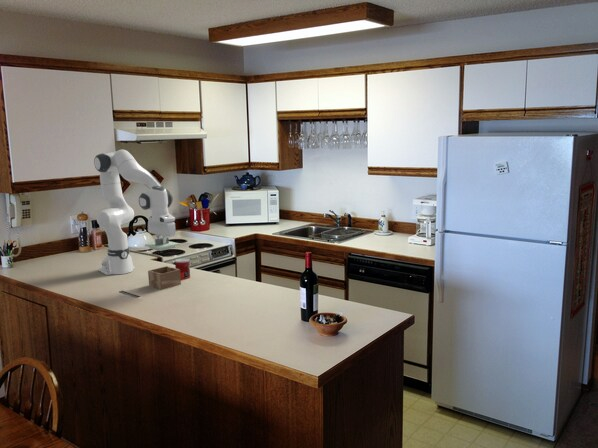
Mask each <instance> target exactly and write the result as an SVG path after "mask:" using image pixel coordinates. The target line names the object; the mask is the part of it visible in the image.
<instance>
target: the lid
mask: <svg viewBox="0 0 598 448" xmlns="http://www.w3.org/2000/svg"><path fill="white" fill-rule="evenodd" d="M162 240H163V237H161V238H160V239H157V238H155V240H154V242H152V243H147V244H144V247H147V248H149V249H151V250H155V251H160V252H162V251H166V250H170V249H171V250H172V249H175V248H176V246H180V245H181V244H180V243H179V242H174V241H170V237H168V236H167V239H166V243H165V244H163V243H162Z"/></svg>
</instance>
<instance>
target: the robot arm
mask: <svg viewBox="0 0 598 448" xmlns="http://www.w3.org/2000/svg"><path fill="white" fill-rule="evenodd" d="M93 165H94V167H95V169H96V171H97V172H99V180H100V188H101V189H100V190H101V193H102V198H103V199H104V201H106V202H108V204H109V206H110V207H109V208H104V209H103V210H100V211H99V212H98V213H97V214H96V222H97V224H98V225H99V226H100V227H101V228H102V229H103V230H104V232H105V234H106V237H107V238H106V239H107V242H108V243H107V244H108V245H107V246H108V249H106V251H107V255H106V256H105V257H104V259H103V260H102V261H101V266H102V267H99V268H98V271H99V272H101V274H104V275H106V276H108V275H109V276H111V275H125V274H129V273H131V272H133V271H134V270H135V266H134V264H133V259H132V255H130V247H129V239H128V235H127V233H126V232H124V231H123V230H122V225H124V224H128V223H130V222H131V221H133V220H134V218H135V211H134V209H133V208H132V207H131V206H130V205H129V204H128V203H127V201H126V200H125V197H124V195H123V190H122V184H121V178H120V176H121V177H122V178H123V179H124V180H126V181H128V182H131V183H138V184H142V185H143V184H144V185H146V186H147V187H148V188H150V189H148V190H147V191H144V192H143V193H141V194H140V195H139V197H138V204H139V206H140V208H141V209H142V210H144V211H151V213H150V214H151V215H150V216H149V217H148V221H147V231H148V233H149V234H153V235H155V236H156V239H160V238H163V240H162V243H163V244H165V243H166V239H167V237H168V238H170V237H175V236H176V223H175V221H176V217H175V216H173V215H172V214H171V213H170V212H169V208H170V206H171V205H172V203H173V202H174V200H173V199H174V197H173V194H172V193H171V192H170V190H168V189H167V188H166V187H164V186H163V185H162V184H161V182H160V181H159V180H158V179H157V178H156V177H155V176H154V175H153V174H152V173H151V172H150V171H149V170H147V169H146V168H144V167H143V166H141V165H140V164H139V162H137V160H136V159H135V157H134V156H133V154H132V153H131V152H129V151H128V150H126V149H119V150H116V151H112V152H105V153H100V154H96V155H95V157H94V160H93ZM161 236H162V237H161Z"/></svg>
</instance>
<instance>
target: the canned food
mask: <svg viewBox="0 0 598 448" xmlns="http://www.w3.org/2000/svg"><path fill="white" fill-rule="evenodd" d="M174 262H175V263H174V265H175V266H174V268H176V269H180V276H181V280H188V279H191V267H190V259H189V258H177V259H175V260H174Z"/></svg>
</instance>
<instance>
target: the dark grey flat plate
mask: <svg viewBox="0 0 598 448" xmlns="http://www.w3.org/2000/svg"><path fill="white" fill-rule="evenodd" d="M118 292H119V293H121V294H124V295H127V296H130V297H134V298H139V297H141V296H140V295H136V294H134V293H132V292H128V291H124V290H120V291H118Z"/></svg>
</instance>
